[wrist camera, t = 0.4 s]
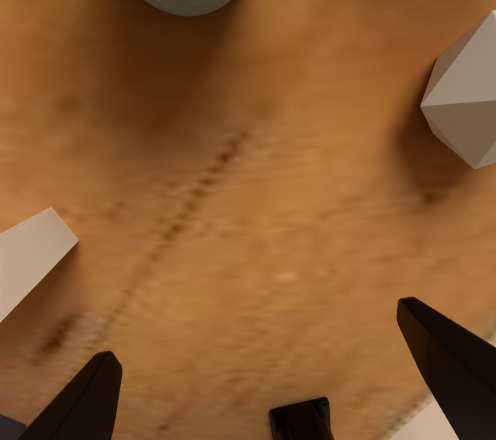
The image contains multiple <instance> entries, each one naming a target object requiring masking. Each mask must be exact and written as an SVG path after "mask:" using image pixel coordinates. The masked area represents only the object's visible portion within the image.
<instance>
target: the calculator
mask: <svg viewBox="0 0 496 440" xmlns="http://www.w3.org/2000/svg"><path fill="white" fill-rule="evenodd" d="M25 429H26V425H25V424H23V423H21V422H18V421H16V420H13V419H11V418H8V417H6V416H3V415H1V414H0V440H16V439H17V438H18V437H19V436H20V435H21V434H22V433H23V432H24V431H25Z"/></svg>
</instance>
